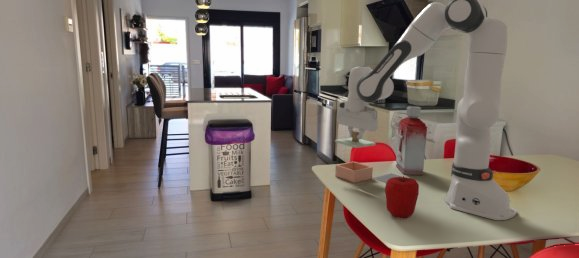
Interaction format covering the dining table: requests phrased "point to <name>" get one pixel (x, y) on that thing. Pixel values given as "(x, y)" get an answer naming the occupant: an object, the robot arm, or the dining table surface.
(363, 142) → the lid
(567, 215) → the dining table surface
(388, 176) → the mat
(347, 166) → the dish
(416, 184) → the apple
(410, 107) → the bottle
